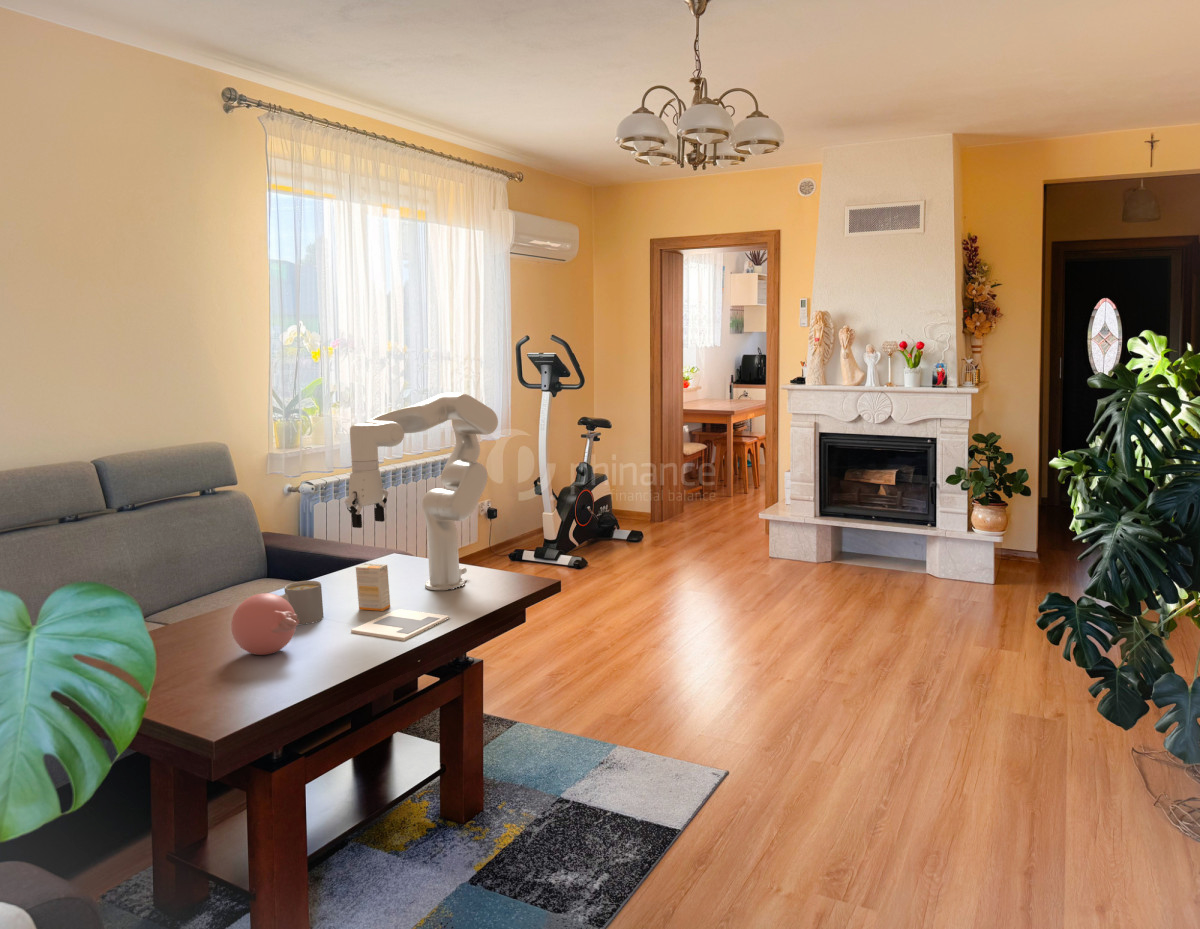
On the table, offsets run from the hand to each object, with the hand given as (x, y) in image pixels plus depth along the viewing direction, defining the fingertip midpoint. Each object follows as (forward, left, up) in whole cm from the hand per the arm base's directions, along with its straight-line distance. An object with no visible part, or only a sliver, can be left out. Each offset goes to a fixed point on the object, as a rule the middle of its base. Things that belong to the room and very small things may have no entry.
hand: (368, 524), depth 253 cm
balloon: (+41, +2, -26) cm, 48 cm away
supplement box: (0, 0, -26) cm, 26 cm away
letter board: (+10, +18, -25) cm, 33 cm away
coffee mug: (+17, -13, -26) cm, 33 cm away
